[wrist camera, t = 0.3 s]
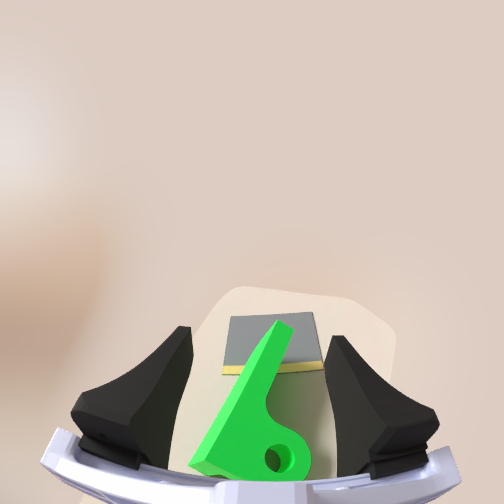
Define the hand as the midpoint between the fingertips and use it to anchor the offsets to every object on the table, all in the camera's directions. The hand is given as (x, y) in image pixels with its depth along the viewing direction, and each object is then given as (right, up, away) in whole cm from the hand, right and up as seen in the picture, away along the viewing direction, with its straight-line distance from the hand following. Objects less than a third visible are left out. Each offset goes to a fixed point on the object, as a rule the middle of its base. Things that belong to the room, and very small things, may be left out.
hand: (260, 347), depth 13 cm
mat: (+3, -9, +28) cm, 29 cm away
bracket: (+2, -15, +15) cm, 21 cm away
